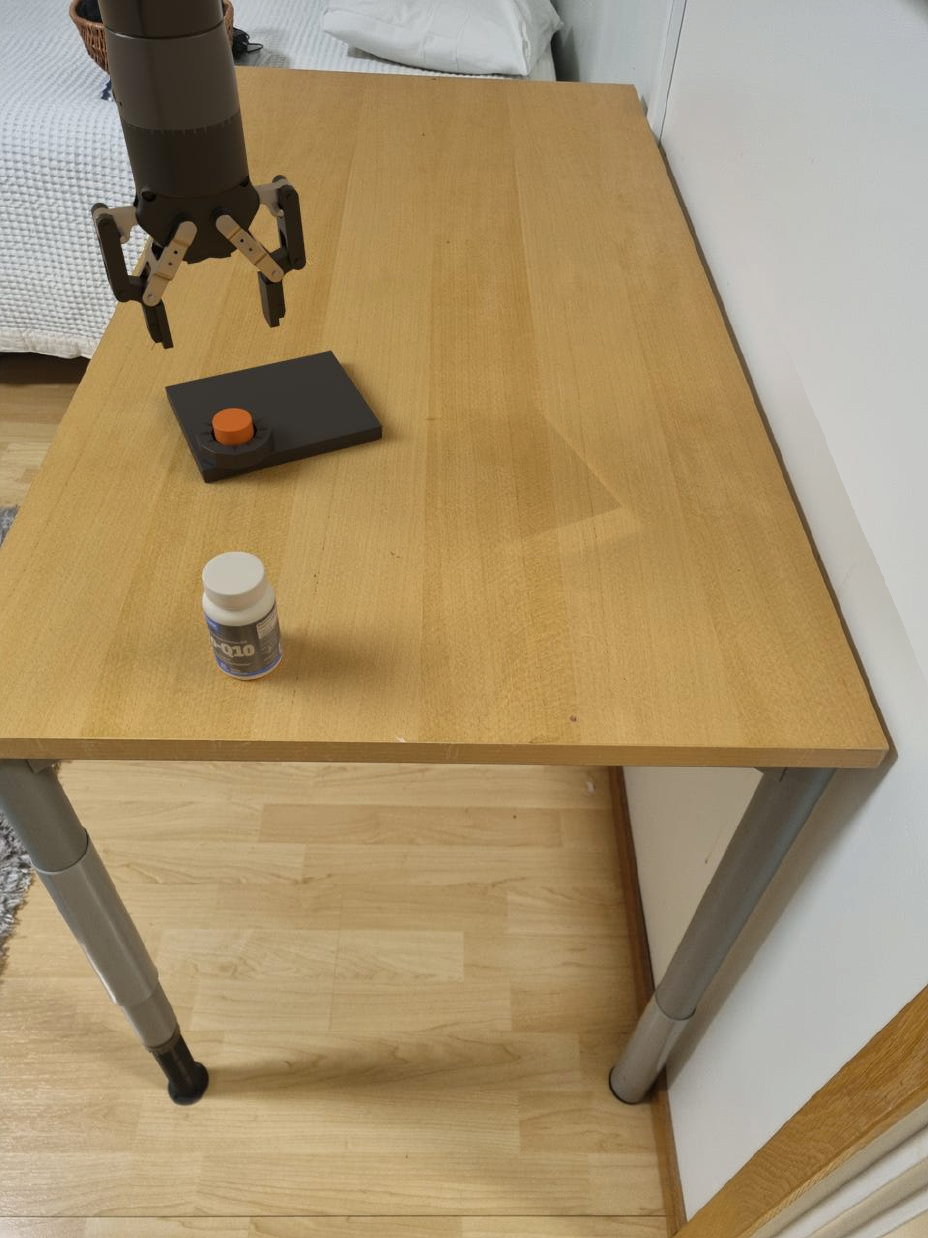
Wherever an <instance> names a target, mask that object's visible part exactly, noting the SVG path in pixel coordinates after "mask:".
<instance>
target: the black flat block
mask: <svg viewBox="0 0 928 1238" xmlns="http://www.w3.org/2000/svg"><path fill="white" fill-rule="evenodd" d="M164 389H165V393H166V397H167V398H166V399H167V401H168V403H169V406H170V408H171V410H172V412H173V414H174V416H175V417H174V418H176V421H177V423H178V425H179V428H180V431H181V432H182V434H183V437H184V439H185V441H186V444H187V447H188V448H189V450H190V453H191V455H192V457H193V459H194V461H195V464H196V467H197V468H198V471H199V473H200V475H201V478H202V479H203V482H204V484H207V483H208V484H209V483H211V482H215V481H219V480H223V479H228V478H232V477H235V476H239V475H243V474H247V473H251V472H255V471H258V470H262V469H267V468H270V467H276V466H278V465H283V464H286V463H291V462H294V461H298V460H303V459H306V458H311V457H314V456H318V455H321V454H327V453H330V452H333V451H337V450H341V449H345V448H349V447H353V446H358V445H361V444H365V443H369V442H373V441H376V440H381V439H383V425H382V423H381V422H380V420H379V419H378V417H377V416H376V415H375V413H374V412H373V410H372V408H371V407H370V405H369V404H368V403H367V401H366V400H365V397H363V395H362V394H361V392H360V391H359V389H358V388H357V385H355V383H354V382H353V381H352V379H351V378H350V375H348V372H347V371H346V370H345V368H344V367H343V366H342V364H341V363H340V361H339V360H338V358H337V357H336V355H335V353H334V352H333V350H326V351H322V352H317V353H313V354H308V355H304V356H299V357H294V358H290V359H285V360H280V361H276V362H271V363H266V364H263V365H262V364H261V365H258V366H254V367H249V368H243V369H240V370H235V371H231V372H225V373H221V374H217V375H212V376H208V377H202V378H199V379H193V380H188V381H185V382H179V383H175V384H171V385H167V386H164ZM231 408H237V409H242V410H245V411H247V412H248V413H249V414H250V415H251V417H252V423H253V430H254V435H253V438H252V439H251V440H250V441H248V442H247V443H244V444H239V445H235V446H234V445H223V444H221V443H219V442H218V441H217V440H216V438H215V433H214V428H213V423H212V420H213V418H214V416H215V415H216V414H217V413H219V412H220V411H222V410H226V409H231Z"/></svg>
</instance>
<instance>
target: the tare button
mask: <svg viewBox="0 0 928 1238" xmlns="http://www.w3.org/2000/svg"><path fill="white" fill-rule="evenodd" d="M212 423H213V428H214V433H215V438H216V440H217V441H218V442H219V443H221V444H223V445H234V446H235V445H239V444H244V443H247V442H248V441H250V440H251V439H252V438H253V435H254V430H253V423H252V417H251V415H250V414H249V413H248V412H247V411H245V410H242V409H237V408H231V409H226V410H222V411H220V412H219V413H217V414H216V415H215V416H214V418H213V420H212Z"/></svg>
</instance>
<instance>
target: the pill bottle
mask: <svg viewBox="0 0 928 1238" xmlns="http://www.w3.org/2000/svg"><path fill="white" fill-rule="evenodd" d="M266 571H267V570H266V567H265V565H264V563H263V562H262V560H261V559H260V558H258V556H256V555H254V554H252V553H249V552H246V551H227V552H223V553H220V554H219V555H217V556H214V557H213V558H211V559H210V560H209V561H208V562H207V563H206V564H205V566H204V567H203V569H202V574H201V578H202V585H203V590H204V591H203V594H202V596H201V597H202V598H201V604H202V609H203V614H204V618H205V622H206V625H207V630H208V635H209V638H210V643H211V647H212V652H213V655H214V659H215V663H216V664H217V666H218V668H219V669H220V671H221V672H222V673H224V674H225V675H227V676H229V677H232V678H233V679H238V680H243V681H249V680H256V679H259V678H262V677H264V676H267V675H268V674H270V673H271V672H272V671H274V670H275V669H277V667H278V665H279V664H280V663H281V661H282V659H283V655H284V646H283V645H284V644H283V638H282V633H281V626H280V620H279V613H278V607H277V599H276V593H275V590H274V589H275V588H274V587H273V585H272V583H271V582H270V581H269V579H268V577H267V572H266Z"/></svg>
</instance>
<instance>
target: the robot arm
mask: <svg viewBox="0 0 928 1238" xmlns="http://www.w3.org/2000/svg"><path fill="white" fill-rule="evenodd" d="M97 4H98V8H99V13H100V17H101V21H102V27H103V31H104V41H105V50H106V51H105V52H106V59H107V66H108V71H109V76H110V80H111V85H110V88H111V94H112V97H113V100H114V102H115V104H116V107H117V112H118V117H119V121H120V125H121V130H122V134H123V138H124V142H125V143H124V144H125V147H126V151H127V156H128V161H129V166H130V170H131V175H132V178H133V182H134V188H135V194H134V195H135V196H134V199H133V202H132V205H125V206H118V207H112V208H111V207H109V206H108V205H107V204H106V203H103V202H96V203H94V204H92V206H91V208H90V214H91V217H92V218H91V219H92V222H93V226H94V229H95V234H96V238H97V243H98V245H99V250H100V254H101V259H102V263H103V267H104V271H105V274H106V278H107V282H108V284H109V287H110V289H111V291H112V293H113V296H114V298H115V300H116V301H117V302H119V303H123V304H125V303H128V302H130V301H133V302H137V303H139V304H140V305H141V309H142V313H143V317H144V321H145V326H146V329H147V332H148V334H149V336H150V339H151V340H152V341H153V342H154V344H160V343H161V345H162V348H163V350H168V349H173V348H174V342H173V341H174V340H173V337H172V332H171V328H170V324H169V319H168V315H167V310H166V307H165V306H166V305H165V303H164V301H163V299H162V297H163V294H164V293H165V291H166V288H167V286H168V284H169V283H170V282H171V281H173V279H174V278H175V276H176V274H177V272H178V270H179V268H180V266H181V264H182V262H185V263H186V264H187V265H194V264H199V263H201V262H204V261H206V260H208V259H218V260H219V259H220V260H221V259H222V260H223V259H227V258H232V253H235V252H236V251H237V250H238V251H239V252H240V253H241V254H242V255H243V256H244V257H245V258H246V259H247V260H248V261H249V262H250V263H251V264H252V265H253V266H255V267H256V268H257V269H258V271H256V275H257V280H258V281H257V282H258V289H259V296H260V302H261V303H260V304H261V310H262V316H263V318H264V320H265V322H266V323H267V325H268V327H269V328H270V329H271V328H277V327H280V325H281V323H280V319H284V318H285V316H286V312H287V307H286V301H285V293H284V285H283V284H284V283H283V281H284V277H285V276H286V275H287V274H288V273H290V272H291V271H293V270H295V271H300V270H301V271H302V270H303V269H304V268H305V267H306V265H307V255H306V247H305V246H306V245H305V239H304V229H303V221H302V213H301V212H302V211H301V204H300V196H299V193H298V191H297V190H296V189H295V187H294V185H293V184H292V183H291V182H290V181H289V179H288V178H287V177H286V176H285V175H283V174H277V175H276V176H274V177H273V179H272V180H271V182H269V183H263V184H259V185H253V183H252V181H251V178H250V170H249V163H248V156H247V148H246V141H245V133H244V126H243V125H244V124H243V118H242V112H241V103H240V97H239V95H240V94H239V90H238V80H237V74H236V67H235V60H234V55H233V51H232V47H231V43H230V40H229V36H228V31H227V28H226V23H225V18H224V12H223V4H222V0H97ZM261 205H264V206H266V209H267V210H268V212H269V213H270V215H271V216H272V217H273V218H275V219H276V227H277V233H278V240H279V247H278V248H276V249H275V250H273V251H271V252H270V250H269V249H268V248H267V247H266V246H265V245H264V244H263V243H262V242H261V241H260V240H259V239H258V238H257V237H256V235H255V234H254V233H253V231H251V229H250V228H251V225H252V224H253V221H254V220H255V217H256V215H257V214H258V212H259V209H260V206H261ZM137 225H138V226H139V227H140V228H141V229H142V230H143V231H144V232H145V233H146V234H147V235H148V236H149V237H150V240H149V242H148V244H147V246H146V248H145V253H144V260H143V261H142V264H141V266H140V269H139V271H138V273H137V275H132V274H129V273H128V269H127V268H128V267H127V264H126V260H125V255H124V250H123V246H122V245H124V244H126V243H128V242H129V241H130V239H131V231H132V229H133V227H136V226H137Z"/></svg>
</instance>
